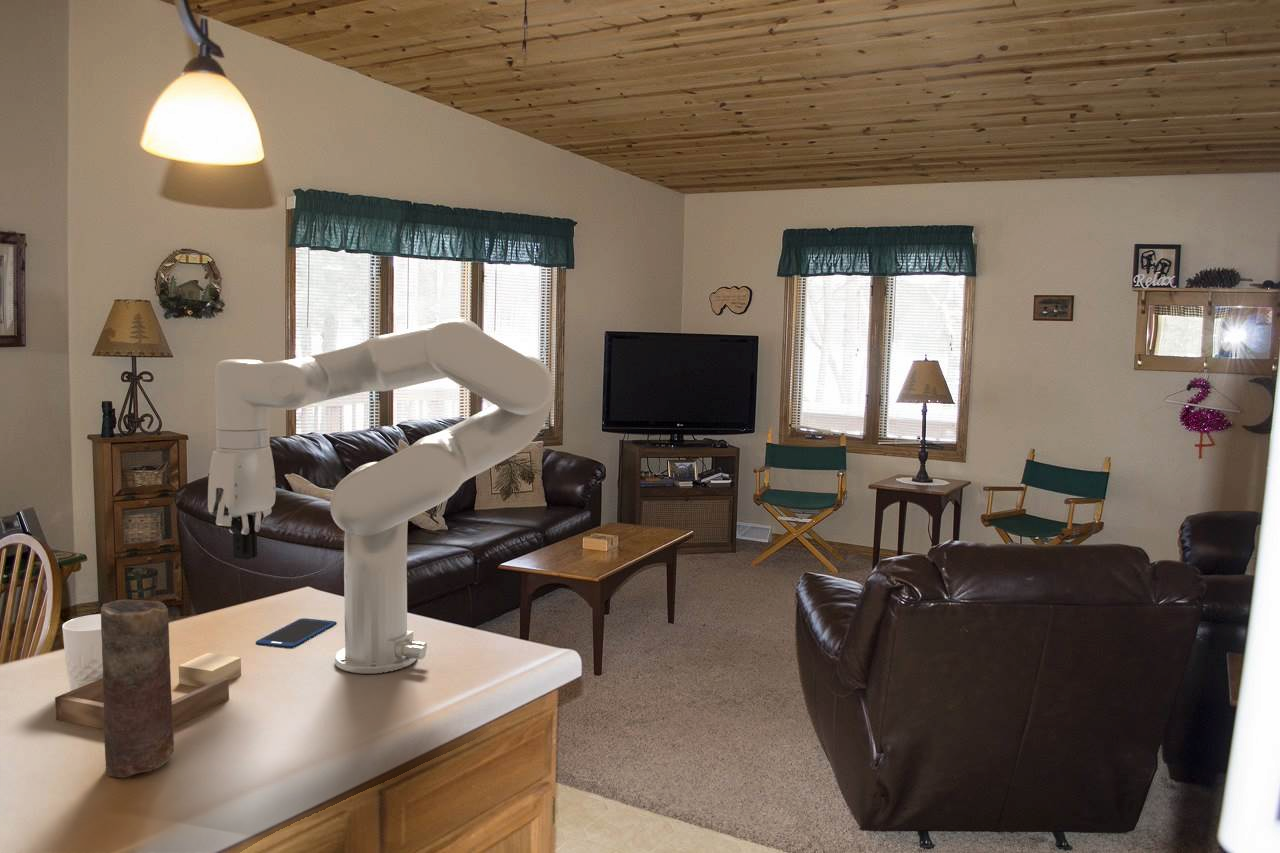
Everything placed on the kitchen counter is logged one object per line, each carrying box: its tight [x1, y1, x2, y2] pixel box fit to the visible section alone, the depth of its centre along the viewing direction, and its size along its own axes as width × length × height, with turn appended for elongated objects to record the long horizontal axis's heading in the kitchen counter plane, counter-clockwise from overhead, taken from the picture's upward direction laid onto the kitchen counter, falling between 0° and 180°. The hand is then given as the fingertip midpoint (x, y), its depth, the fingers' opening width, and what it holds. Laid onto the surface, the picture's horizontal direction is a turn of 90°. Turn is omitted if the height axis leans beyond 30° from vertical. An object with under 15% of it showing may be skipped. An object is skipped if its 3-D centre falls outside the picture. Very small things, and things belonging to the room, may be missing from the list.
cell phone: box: [255, 617, 338, 649], centre depth 165 cm, size 7×14×1 cm, turn 166°
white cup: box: [61, 613, 103, 692], centre depth 139 cm, size 8×8×10 cm
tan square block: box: [178, 652, 242, 688], centre depth 144 cm, size 6×6×3 cm
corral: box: [54, 678, 230, 730], centre depth 133 cm, size 16×14×3 cm
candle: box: [100, 599, 175, 778], centre depth 115 cm, size 8×7×20 cm
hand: (245, 557), depth 150 cm, fingers closed
